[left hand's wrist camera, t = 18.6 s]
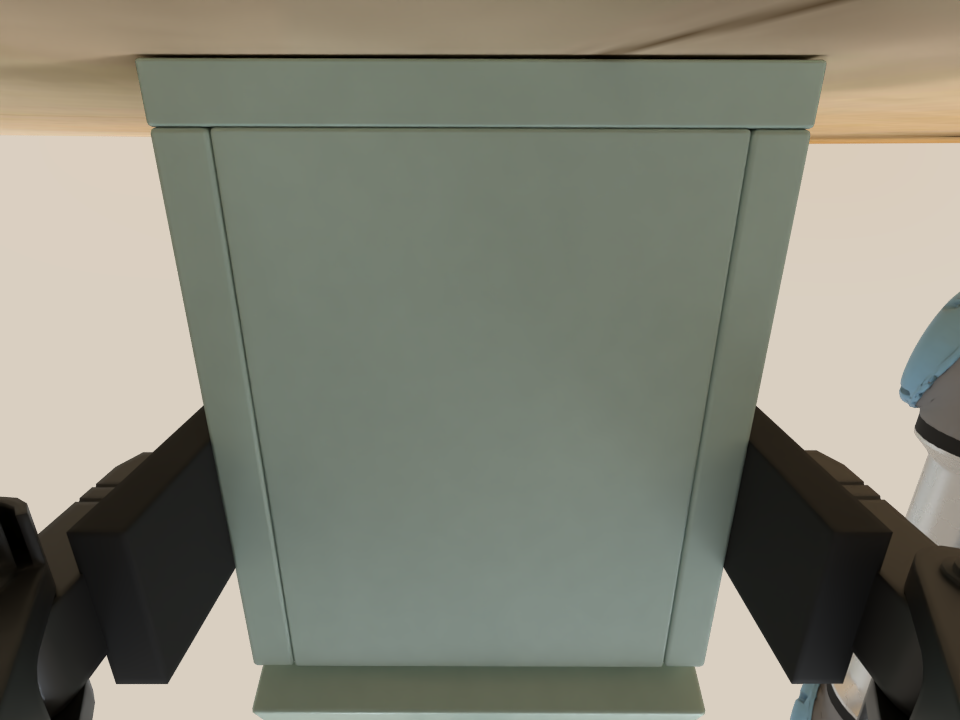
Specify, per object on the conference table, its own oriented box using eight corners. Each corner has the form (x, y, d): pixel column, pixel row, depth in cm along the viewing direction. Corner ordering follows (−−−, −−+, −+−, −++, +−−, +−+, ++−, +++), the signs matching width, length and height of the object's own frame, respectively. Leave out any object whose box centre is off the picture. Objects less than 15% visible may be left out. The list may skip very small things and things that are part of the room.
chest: (586, 124, 24) (570, 360, 27) (375, 124, 24) (389, 360, 28) (829, 59, 7) (704, 668, 11) (132, 57, 7) (252, 667, 11)
